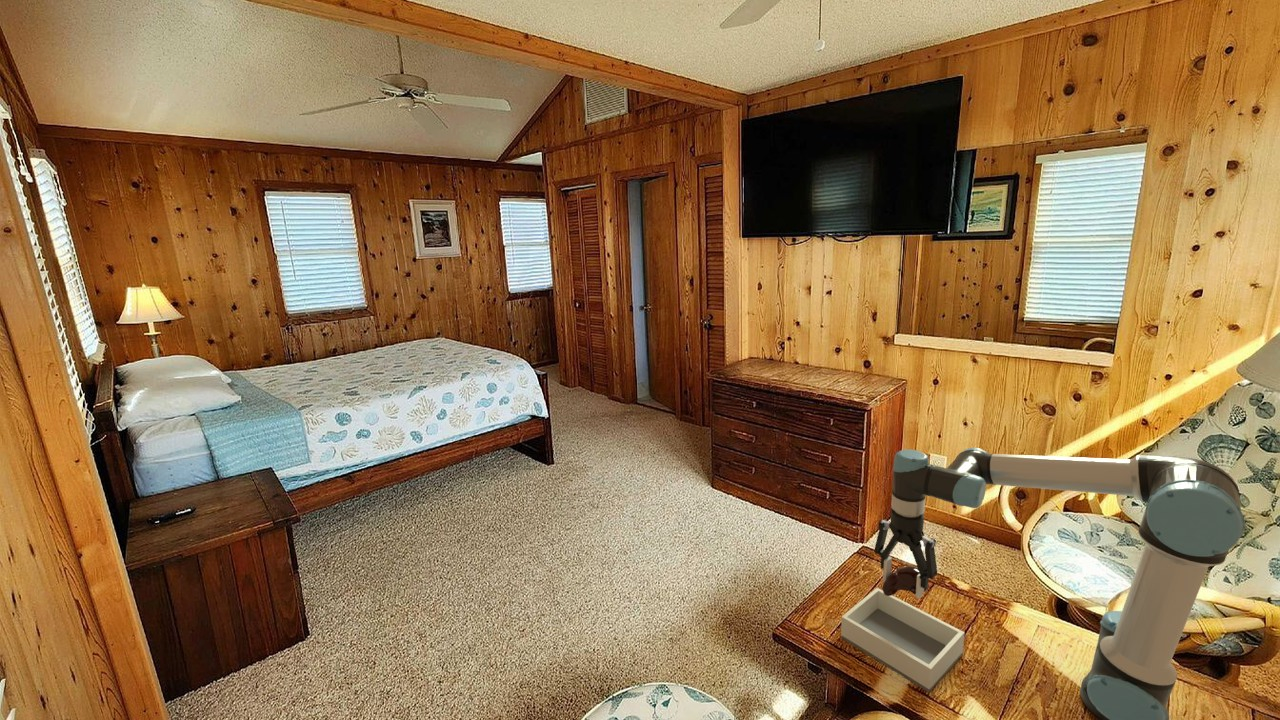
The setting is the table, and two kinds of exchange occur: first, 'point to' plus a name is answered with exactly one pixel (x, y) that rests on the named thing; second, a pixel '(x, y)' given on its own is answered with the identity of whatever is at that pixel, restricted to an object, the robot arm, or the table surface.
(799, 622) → the table surface
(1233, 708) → the table surface
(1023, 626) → the table surface
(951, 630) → the open box
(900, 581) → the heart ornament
